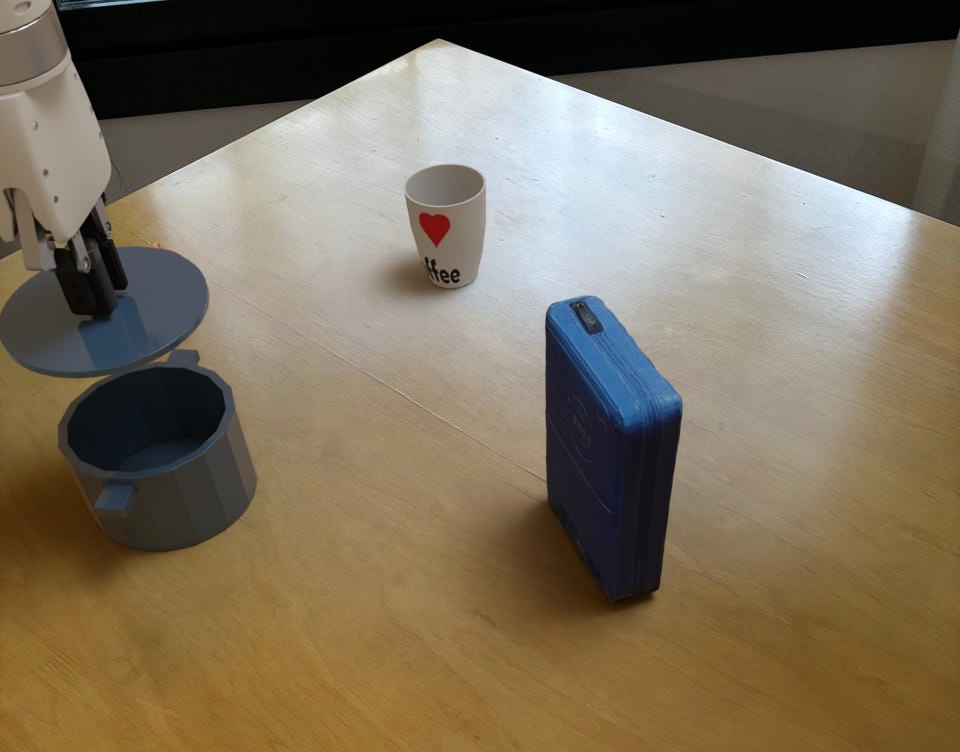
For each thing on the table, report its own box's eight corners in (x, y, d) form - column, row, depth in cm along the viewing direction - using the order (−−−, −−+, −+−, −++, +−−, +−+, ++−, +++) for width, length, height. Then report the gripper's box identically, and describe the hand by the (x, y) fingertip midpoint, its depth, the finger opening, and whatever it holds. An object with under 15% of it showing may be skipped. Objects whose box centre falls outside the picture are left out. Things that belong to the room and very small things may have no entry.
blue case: (536, 499, 92) (528, 297, 76) (593, 481, 93) (597, 277, 77) (608, 618, 83) (617, 418, 68) (670, 596, 84) (692, 394, 69)
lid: (-31, 380, 78) (-71, 307, 73) (50, 256, 88) (20, 184, 83) (175, 390, 76) (149, 316, 71) (235, 262, 86) (216, 189, 81)
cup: (400, 275, 114) (387, 186, 106) (457, 243, 117) (449, 154, 109) (449, 306, 110) (439, 216, 102) (507, 272, 113) (502, 182, 105)
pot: (57, 570, 91) (16, 497, 84) (135, 414, 103) (105, 340, 96) (222, 579, 89) (194, 506, 82) (282, 419, 101) (261, 344, 94)
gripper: (-2, -12, 72) (92, 238, 86) (-116, 107, 62) (12, 366, 76) (104, -12, 71) (181, 241, 85) (6, 108, 61) (111, 370, 75)
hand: (100, 298), depth 81 cm, fingers closed on lid, 2 cm apart
